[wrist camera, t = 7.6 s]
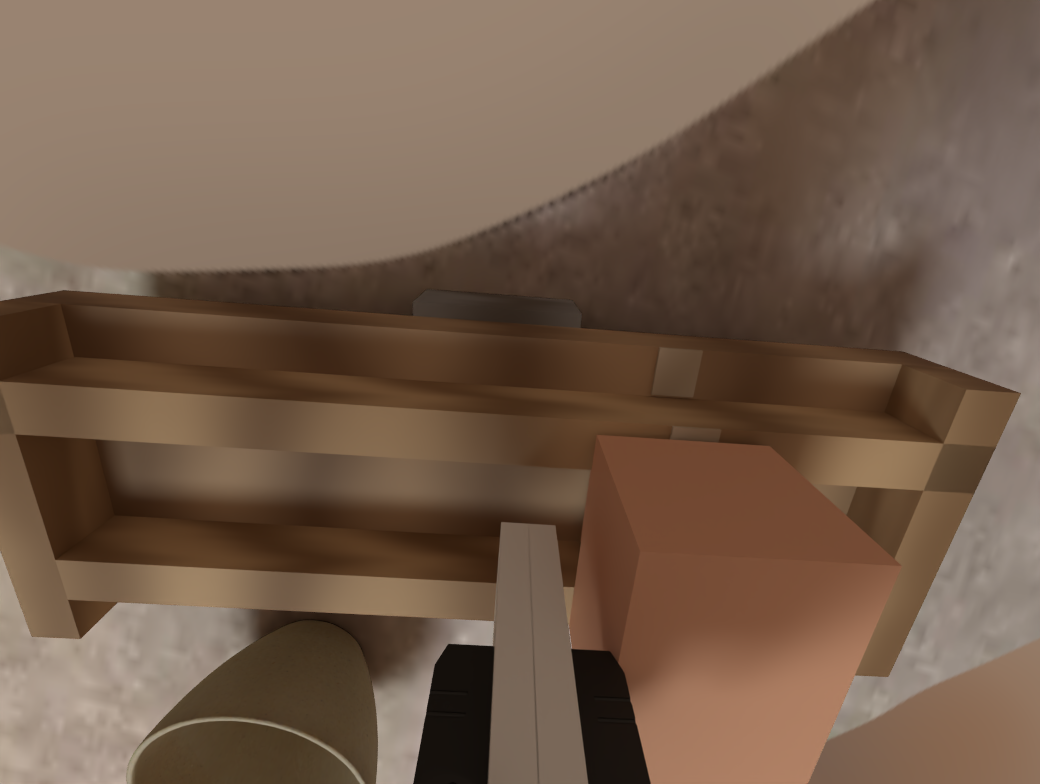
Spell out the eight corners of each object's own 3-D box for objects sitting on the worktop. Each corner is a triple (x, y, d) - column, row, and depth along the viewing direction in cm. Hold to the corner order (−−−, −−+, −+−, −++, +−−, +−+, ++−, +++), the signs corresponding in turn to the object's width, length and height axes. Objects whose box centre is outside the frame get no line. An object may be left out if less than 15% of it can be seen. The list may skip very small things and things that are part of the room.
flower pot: (256, 554, 24) (157, 685, 17) (436, 625, 26) (409, 768, 19) (201, 682, 27) (99, 835, 20) (366, 737, 29) (322, 895, 22)
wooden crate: (177, 519, 23) (33, 650, 16) (126, 266, 19) (-97, 296, 12) (778, 552, 24) (885, 689, 17) (853, 321, 20) (1032, 377, 13)
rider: (562, 574, 18) (591, 795, 11) (584, 403, 16) (640, 551, 9) (691, 581, 18) (799, 803, 11) (733, 413, 16) (902, 566, 9)
